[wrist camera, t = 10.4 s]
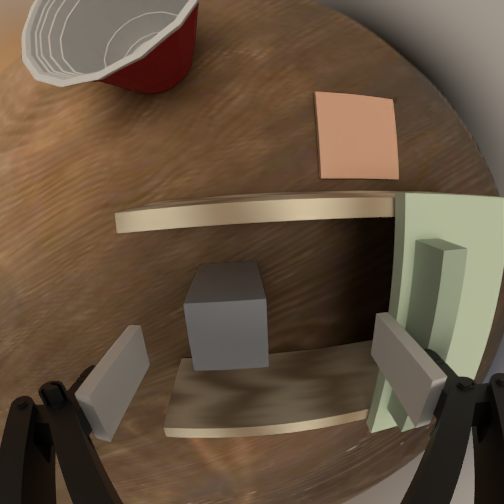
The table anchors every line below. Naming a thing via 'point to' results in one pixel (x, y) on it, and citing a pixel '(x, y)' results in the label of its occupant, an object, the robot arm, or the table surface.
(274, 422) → the wooden box
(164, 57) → the plastic cup
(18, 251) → the table surface
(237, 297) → the slate block
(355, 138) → the terracotta coaster
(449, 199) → the cover
